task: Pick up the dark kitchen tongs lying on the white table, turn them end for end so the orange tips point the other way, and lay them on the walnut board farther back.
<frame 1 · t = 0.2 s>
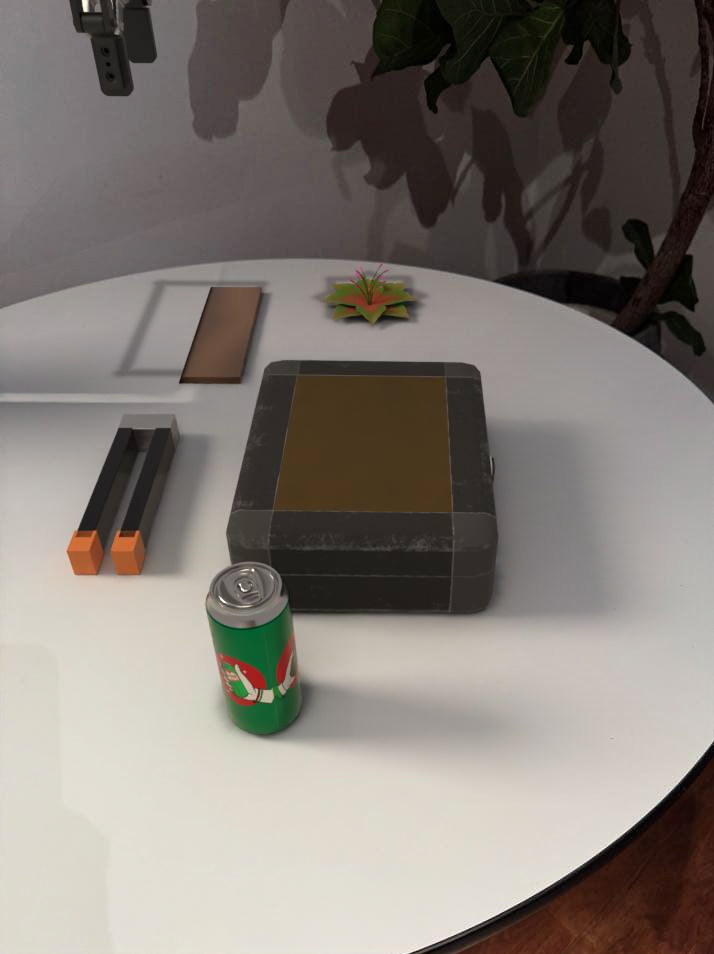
hand: (131, 77, 66), 30 cm above the table, tool pointing down, fingers open, 8 cm apart
soda can: (265, 709, 60), on the table
cash box: (372, 511, 76), on the table
tongs: (132, 501, 76), on the table
lily flower: (369, 307, 103), on the table
board: (198, 334, 97), on the table
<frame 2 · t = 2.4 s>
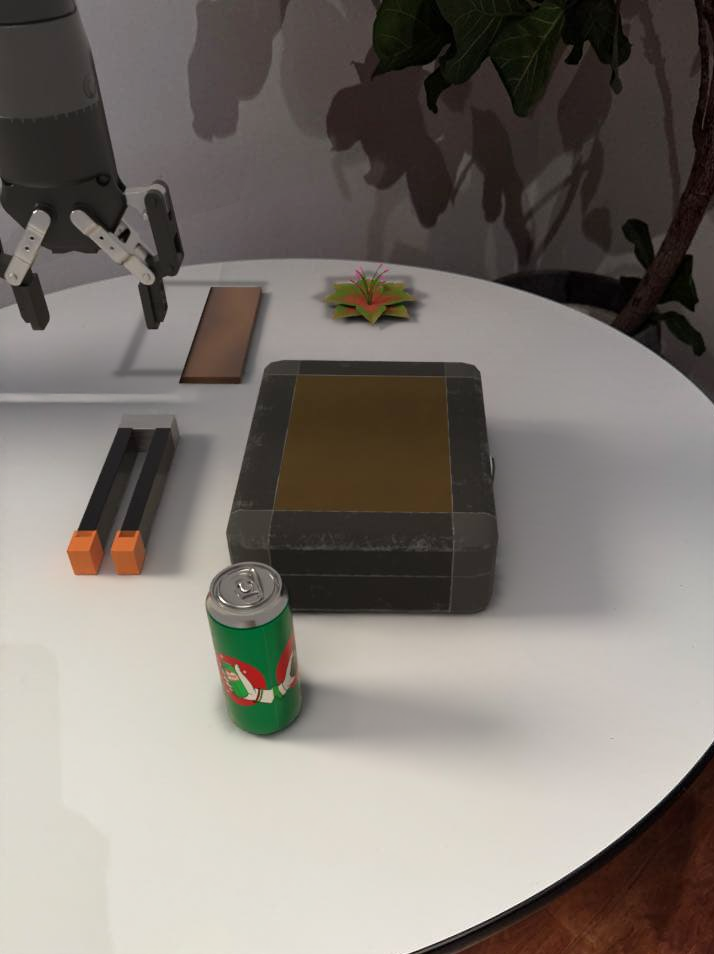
hand: (98, 325, 66), 16 cm above the table, tool pointing down, fingers open, 8 cm apart
nothing on the table moved.
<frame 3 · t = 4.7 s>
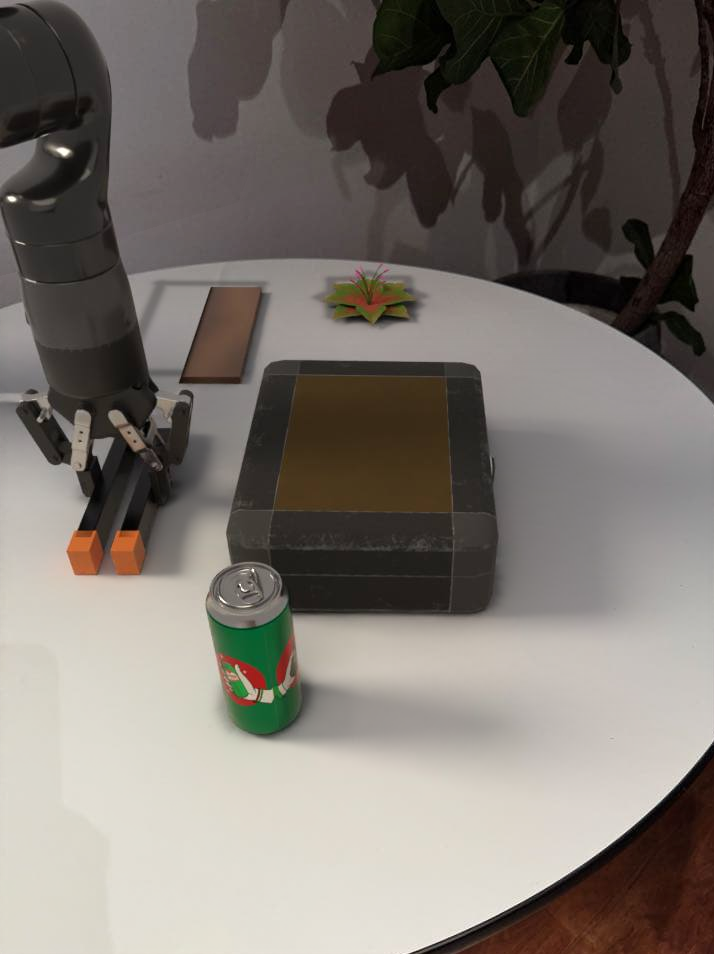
hand: (130, 496, 76), 1 cm above the table, tool pointing down, fingers closed on tongs, 4 cm apart
tongs: (132, 501, 76), on the table, touching gripper
everything else where it was.
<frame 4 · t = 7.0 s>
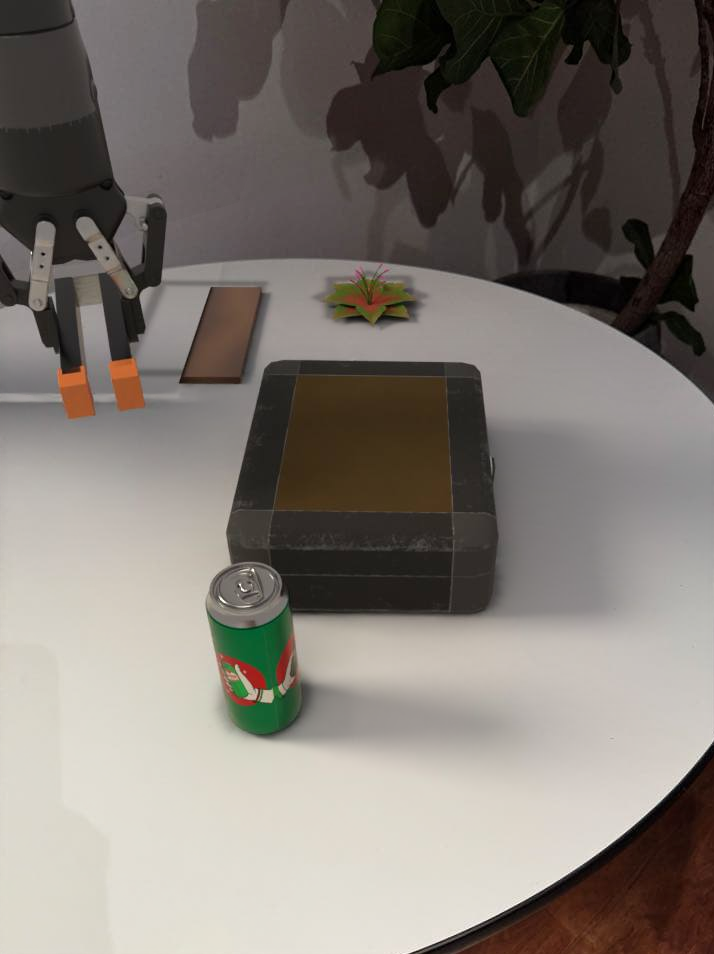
hand: (96, 342, 66), 15 cm above the table, tool pointing down, fingers closed on tongs, 4 cm apart
tongs: (98, 349, 67), point 15 cm above the table, touching gripper
everything else where it was.
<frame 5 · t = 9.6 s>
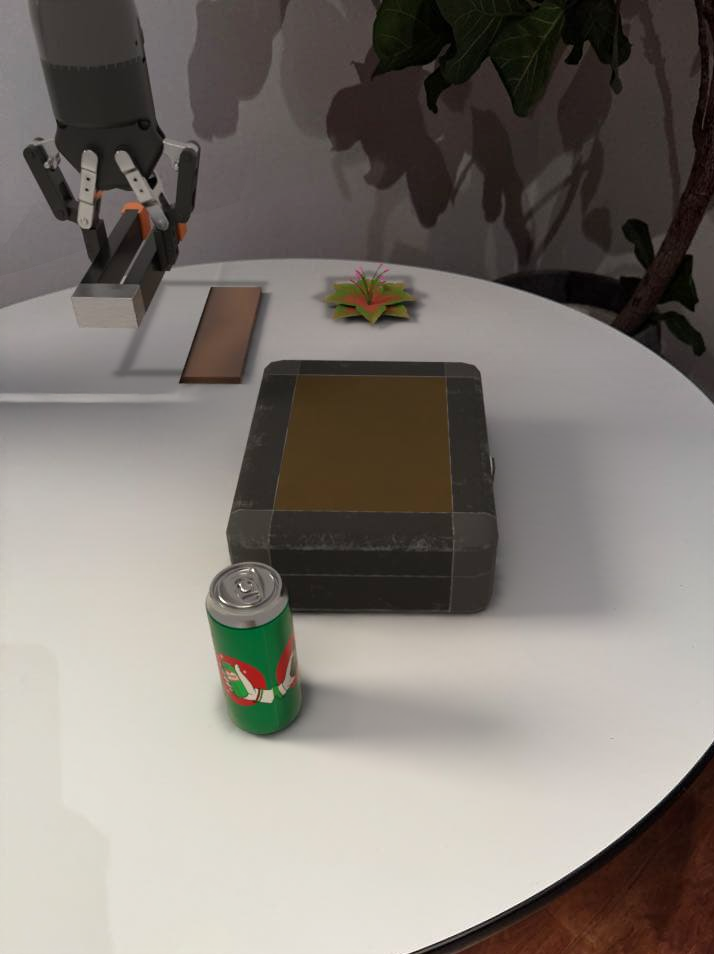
hand: (136, 265, 76), 15 cm above the table, tool pointing down, fingers closed on tongs, 4 cm apart
tongs: (137, 272, 76), point 15 cm above the table, touching gripper
everything else where it was.
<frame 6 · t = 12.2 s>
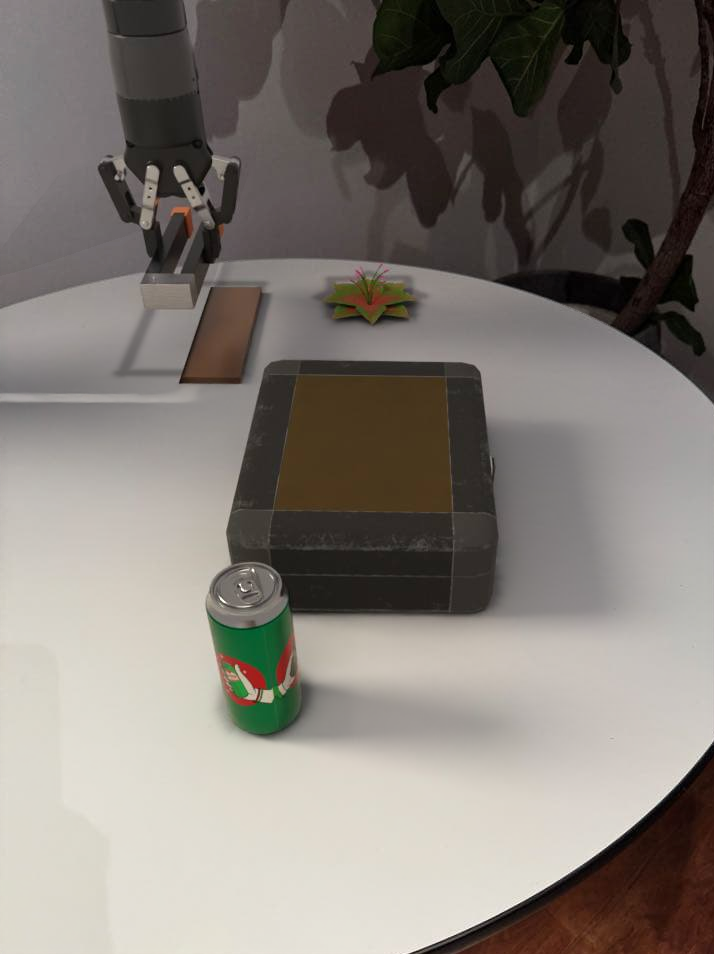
hand: (186, 259, 91), 9 cm above the table, tool pointing down, fingers closed on tongs, 4 cm apart
tongs: (186, 265, 92), point 8 cm above the table, touching gripper
everything else where it was.
when the fingers open (1 cm above the table, at t = 14.4 s): tongs stays where it is, resting on board.
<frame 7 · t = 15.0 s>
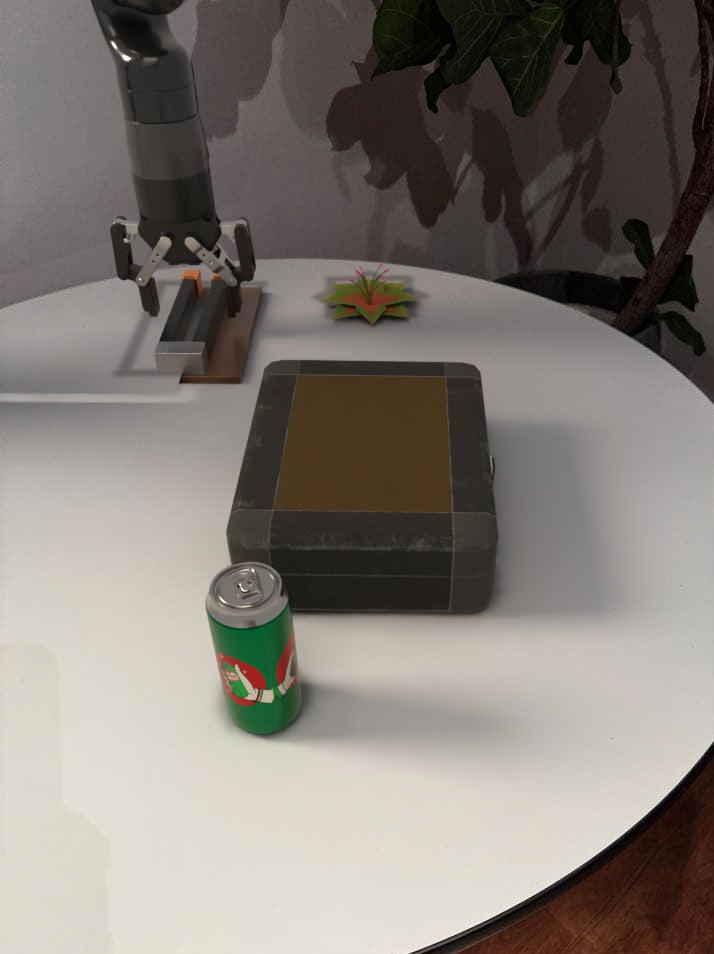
hand: (194, 314, 96), 3 cm above the table, tool pointing down, fingers open, 8 cm apart
tongs: (197, 328, 97), point 1 cm above the table, touching board
everything else where it was.
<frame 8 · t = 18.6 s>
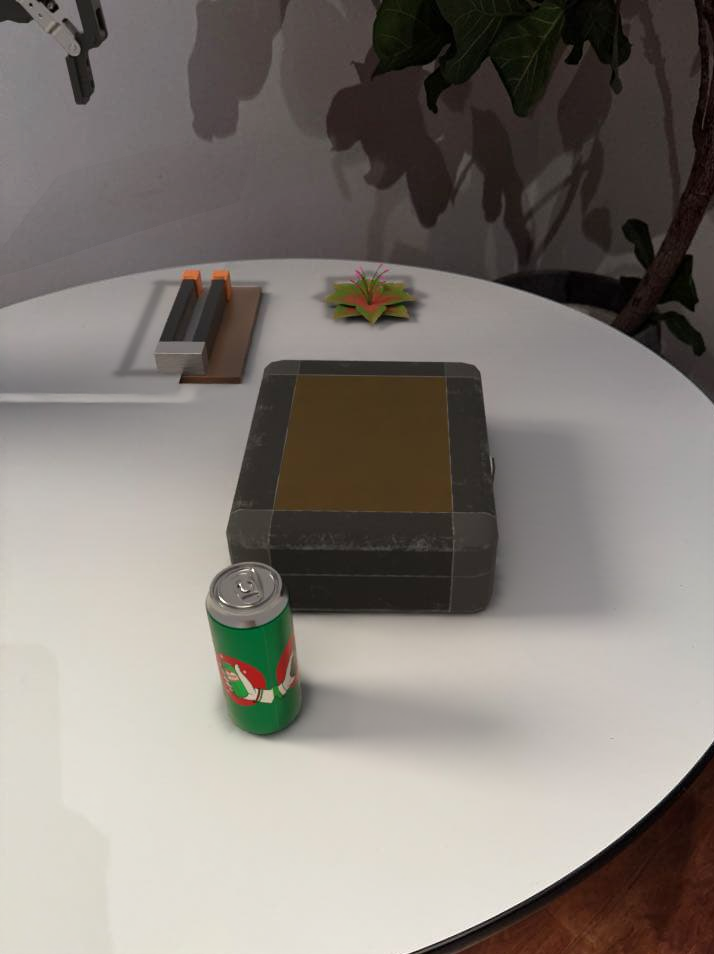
hand: (33, 101, 74), 26 cm above the table, tool pointing down, fingers open, 8 cm apart
nothing on the table moved.
at the end: tongs inside the target area on the board (0.1 cm from its centre), point 0.8 cm above the board's base; tongs moved 28.9 cm from its start; the gripper is holding nothing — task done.
